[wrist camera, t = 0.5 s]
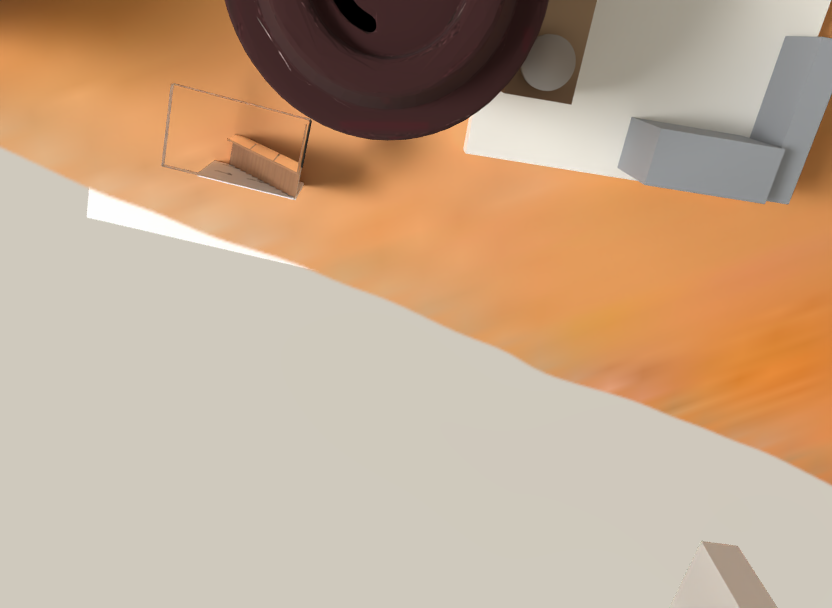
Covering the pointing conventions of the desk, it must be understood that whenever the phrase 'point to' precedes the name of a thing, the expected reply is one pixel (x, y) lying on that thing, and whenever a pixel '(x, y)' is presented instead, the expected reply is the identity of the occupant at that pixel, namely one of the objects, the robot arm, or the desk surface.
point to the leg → (555, 53)
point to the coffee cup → (387, 58)
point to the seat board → (681, 99)
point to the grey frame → (246, 170)
